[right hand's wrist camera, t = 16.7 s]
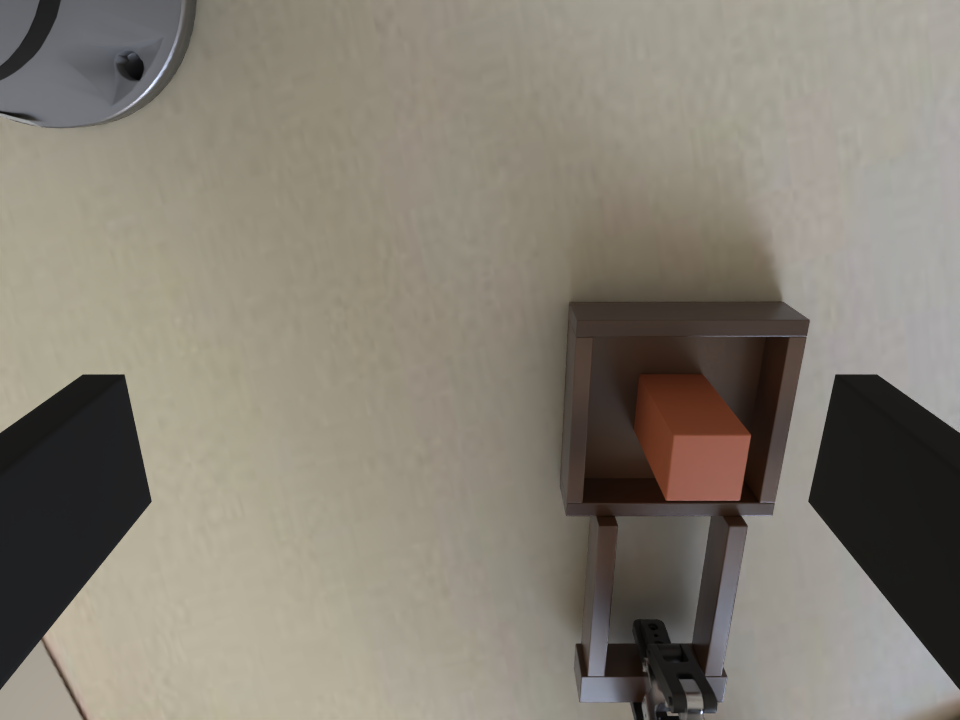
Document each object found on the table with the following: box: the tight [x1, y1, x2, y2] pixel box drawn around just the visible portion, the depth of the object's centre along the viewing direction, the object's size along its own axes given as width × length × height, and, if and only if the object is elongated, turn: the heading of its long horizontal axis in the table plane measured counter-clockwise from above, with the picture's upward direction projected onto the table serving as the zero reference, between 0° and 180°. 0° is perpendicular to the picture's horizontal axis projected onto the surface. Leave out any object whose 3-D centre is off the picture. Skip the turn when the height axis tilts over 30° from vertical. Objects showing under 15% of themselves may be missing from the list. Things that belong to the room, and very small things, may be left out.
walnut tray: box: [560, 302, 810, 702], centre depth 43 cm, size 28×13×4 cm, turn 0°
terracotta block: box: [634, 374, 751, 501], centre depth 39 cm, size 4×4×8 cm
